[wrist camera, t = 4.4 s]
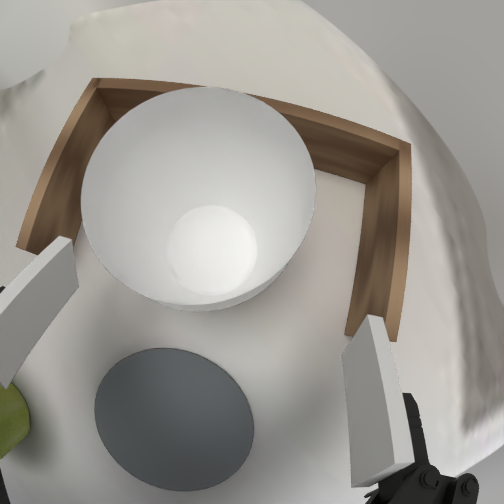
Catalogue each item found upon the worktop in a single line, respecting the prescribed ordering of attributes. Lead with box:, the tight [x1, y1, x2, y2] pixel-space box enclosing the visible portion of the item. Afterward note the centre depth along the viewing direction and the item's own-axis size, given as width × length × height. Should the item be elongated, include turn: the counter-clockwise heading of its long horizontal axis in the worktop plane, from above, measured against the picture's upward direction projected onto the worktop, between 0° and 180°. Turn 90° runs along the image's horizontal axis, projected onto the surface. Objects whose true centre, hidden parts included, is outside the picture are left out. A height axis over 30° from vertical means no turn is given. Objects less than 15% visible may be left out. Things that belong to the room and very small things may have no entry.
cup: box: [81, 87, 316, 312], centre depth 16 cm, size 9×9×12 cm
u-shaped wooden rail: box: [16, 78, 412, 342], centre depth 20 cm, size 14×24×6 cm, turn 77°
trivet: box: [95, 348, 254, 491], centre depth 19 cm, size 12×12×1 cm
